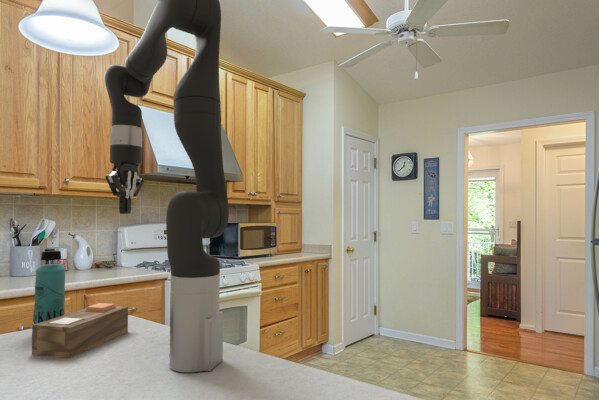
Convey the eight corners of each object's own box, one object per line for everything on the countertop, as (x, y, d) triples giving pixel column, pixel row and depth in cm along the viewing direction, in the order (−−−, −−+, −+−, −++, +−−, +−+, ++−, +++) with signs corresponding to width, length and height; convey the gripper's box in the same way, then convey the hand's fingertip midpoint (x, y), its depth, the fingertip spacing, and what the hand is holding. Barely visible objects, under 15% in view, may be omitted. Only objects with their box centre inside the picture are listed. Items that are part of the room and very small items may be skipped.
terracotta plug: (114, 324, 99) (115, 303, 99) (102, 329, 95) (103, 307, 95) (98, 323, 100) (99, 302, 100) (86, 328, 96) (86, 306, 96)
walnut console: (127, 331, 100) (128, 306, 101) (69, 357, 82) (70, 327, 82) (95, 329, 102) (96, 305, 102) (31, 354, 84) (32, 325, 84)
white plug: (82, 342, 88) (82, 318, 89) (66, 348, 84) (67, 324, 84) (64, 340, 89) (65, 317, 89) (48, 347, 85) (49, 322, 85)
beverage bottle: (46, 329, 102) (48, 249, 102) (71, 330, 101) (72, 249, 101) (25, 337, 95) (28, 251, 96) (51, 338, 94) (53, 252, 95)
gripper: (123, 140, 96) (121, 213, 96) (154, 149, 109) (153, 213, 109) (95, 141, 98) (93, 213, 97) (129, 150, 111) (127, 213, 110)
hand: (125, 213), depth 103 cm, fingers closed
